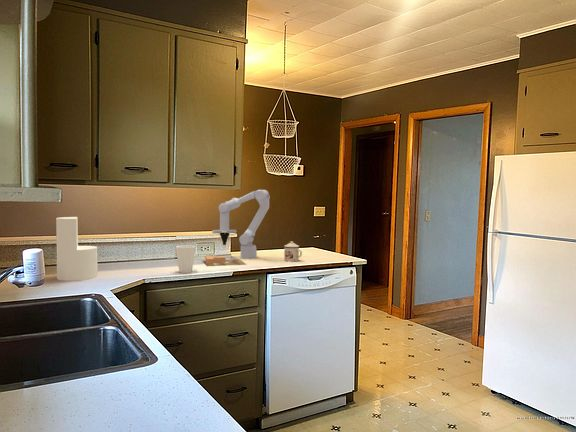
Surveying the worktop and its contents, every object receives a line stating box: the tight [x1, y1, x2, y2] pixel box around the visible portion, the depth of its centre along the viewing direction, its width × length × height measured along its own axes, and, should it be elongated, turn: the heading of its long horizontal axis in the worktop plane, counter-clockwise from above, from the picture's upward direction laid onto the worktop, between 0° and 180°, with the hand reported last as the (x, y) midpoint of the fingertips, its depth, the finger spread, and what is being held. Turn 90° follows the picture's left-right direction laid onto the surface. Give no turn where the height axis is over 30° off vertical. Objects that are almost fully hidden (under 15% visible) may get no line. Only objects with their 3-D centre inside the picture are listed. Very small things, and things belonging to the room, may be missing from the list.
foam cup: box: [175, 244, 196, 274], centre depth 227 cm, size 10×9×13 cm
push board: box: [201, 258, 247, 267], centre depth 251 cm, size 22×20×1 cm
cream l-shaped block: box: [55, 216, 99, 282], centre depth 209 cm, size 17×17×28 cm
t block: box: [204, 255, 227, 265], centre depth 251 cm, size 10×12×3 cm
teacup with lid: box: [283, 241, 303, 262], centre depth 268 cm, size 12×9×12 cm
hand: (224, 244), depth 274 cm, fingers closed
